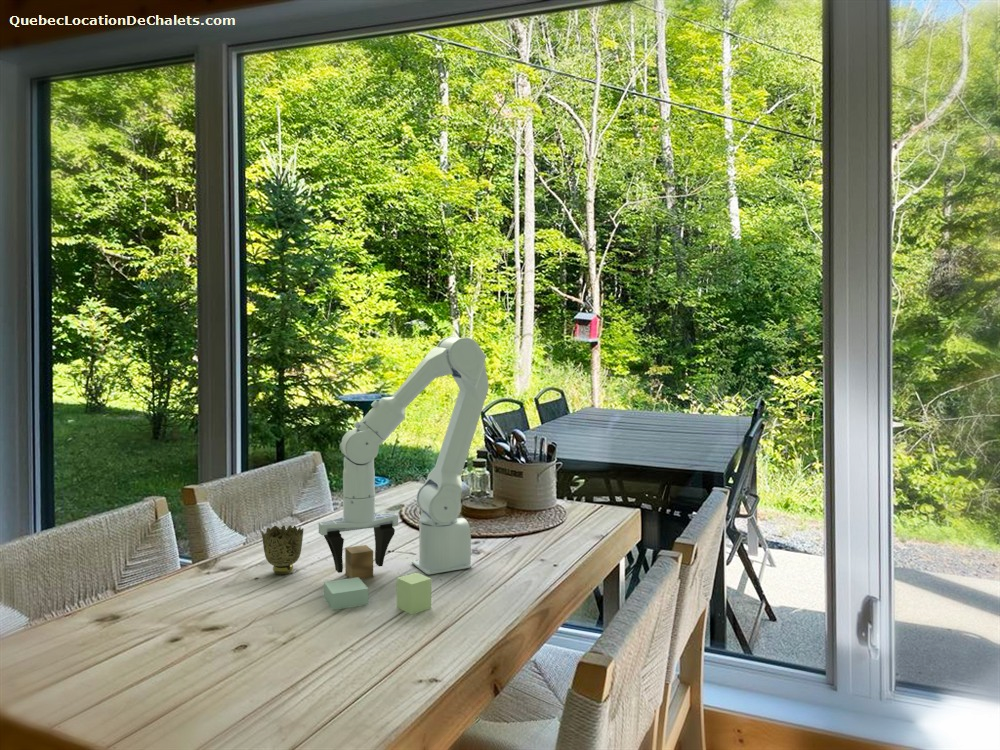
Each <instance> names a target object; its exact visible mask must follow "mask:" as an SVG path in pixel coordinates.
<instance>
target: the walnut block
mask: <svg viewBox="0 0 1000 750" xmlns="http://www.w3.org/2000/svg"><path fill="white" fill-rule="evenodd" d="M344 551H345V552H344V554H345V557H344V559H345V566H344V567H345V569H344V570H345V571H344V573H345V575H346V576H347V577H348V579H349V578H356V577H359V578H360V579H361V580H364V579H365V580H366V579H370V578H374V550H373V549H372V548H370V547H369V546H368V545H367V544H362V545H355V546H349V547H345V548H344Z"/></svg>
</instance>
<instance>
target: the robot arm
mask: <svg viewBox="0 0 1000 750" xmlns="http://www.w3.org/2000/svg"><path fill="white" fill-rule="evenodd" d="M449 375H451V376H452V378H453V379H454V381H455V384H456V385H457V387H458V388H459V391H458V394H457V398H456V401H455V404H454V407H453V408H452V409H453V410H452V413H451V415H450V419H449V422H448V425H447V429H446V432H445V433H444V434H445V435H444V437H443V438H444V439H443V441H442V444H441V446H440V447H441V448H440V450H439V454H438V456H437V460H436V463H435V466H434V467H433V468H432V470H431V471H430V472H429V473H428V475H427V478H426V480H425V482H424V483H423V484H422V485H421V486H420V488H419V489H418V491H417V494H416V504H417V505H418V507H419V509H420V510H421V514H420V516H419V518H418V520H419V522H418V523H419V525H418V526H419V529H418V530H419V537H418V539H419V542H418V543H419V545H418V547H419V552H418V553H419V554H418V557H419V558H418V559H413V560H411V564H412V565H414V566H415V567H417V568H418V569H419V570H420V571H422V572H423V573H424V574H425V575H434V574H440V573H446V572H452V571H457V570H458V571H460V570H465V569H470V567H471V568H473V564H472V563H471V562H472V559H471V557H472V547H471V546H472V534H471V529H470V528H471V527H470V524H469V522H468V520H467V519H466V518H464V517H459V516H460V514H461V511H462V502H461V500H462V499H461V495H462V492H463V482H462V474H463V470H464V468H465V464H466V461H467V457H468V455H469V452H470V448H471V447H472V445H471V444H472V442H473V439H474V436H475V432H476V430H477V425H478V423H479V420H480V417H481V414H482V411H483V407H484V404H485V401H486V398H487V396H488V392H489V389H490V388H489V387H490V386H489V385H490V384H489V378H488V374H487V368H486V354H485V353H484V350H483V349H482V348H481V346H480V345H479V344H478V342H477V341H475V340H474V339H472V338H470V337H457V336H451V335H450V336H447V337H444V338H442V339H441V340H440V341H439V342H438V343H437V346H434V347H432V348H431V349H430V350H429V352H428V353H427V354H426V355H425V356H424V358H422V360H421V361H420V362H419V363H418V365H417V366H416V367H415V368H414V370H413V371H412V372H411V373H410V374H409V376H408V377H407V378H406V379H405V380H404V382H403V383H402V384H401V385H400V387H398V389H397V390H396V391H395V392H394V394H392V396H389V397H388V396H385V397H381V398H380V399H379V400H375V399H374V401H373V402H372V403H371V404H370V406H371V409H370V410H369V411H368V412H367V413H366V414H365V415H364V417H363V418H362V419H361V420H360V421H355V422H354V424H353V427H355V428H353V429H350V430H348V431H346V432H345V434H344V435H343V436H342V438H341V442H340V443H339V449H340V451H341V453H342V455H344V456H343V470H342V497H343V498H342V501H343V503H342V512H343V513H342V515H343V516H342V517H339V518H334V519H330V520H326V521H320V522H318V533H319V535H320V536H323V537H324V539H325V540H326V544H327V545H328V547H329V549H330V552H331V555H332V558H333V562H334V563H333V564H334V567H335V571H336V572H337V573H339V574H341V573H343V570H344V567H343V564H344V563H343V549H344V543H345V542H344V541H345V539H344V537H342V532H350V531H357V530H365V529H373V532H374V543H375V547H374V548H375V549H374V550H375V551H374V553H375V554H374V561H375V564H376V566H378V567H383V565H384V562H385V561H384V560H385V557H386V553H387V550H388V547H389V545H390V543H391V541H392V539H393V537H394V535H395V531H396V530H395V528H394V527H397V526H399V515H398V514H396V513H395V512H394V513H376V512H375V511H376V495H375V494H376V487H375V485H376V483H375V482H376V480H375V479H376V477H375V476H376V475H375V473H376V471H375V458H377V456H378V454H379V451H380V445H382V444H383V443H385V441H386V440H387V438H389V436H390V435H391V434H392V433H393V432H394V431H395V430H396V429H397V428H398V427H399V426H400V424H401V423H402V422H403V421H404V420H405V419H406V408H407V407H408V406H409V405H410V404H411V403H412V402H413V401H414V400H415V399H416V398H417V397H418V396H419V395H420V394H421V393H422V392H423V391H424V390H425V389H427V387H428V386H429V385H430V384H431V383H432V382H433V381H434V380H435V379H437V378H440V377H445V376H449Z"/></svg>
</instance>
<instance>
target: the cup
mask: <svg viewBox="0 0 1000 750" xmlns="http://www.w3.org/2000/svg"><path fill="white" fill-rule="evenodd" d="M261 537H262V538H261V539H262V545H263V552H264V557H265V559H266V561H267V562H268V564H270V565H271V566H273V567H272V570H273V573H274V574H276V575H288V574H290V573H292V572H293V570H294V564H295V563H296V562H297V561H298V560H299V558H300V556H301V553H302V546H303V537H304V527H301V526H299V528H297V526H296V525H294V526H292V525H291V524H290V525H288V526H287V528H286V525H282V526H281V528H280V527H279V526H277V525H273V526H271V528H270V527H267V528H266V532H264V531H261Z"/></svg>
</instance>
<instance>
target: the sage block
mask: <svg viewBox="0 0 1000 750" xmlns="http://www.w3.org/2000/svg"><path fill="white" fill-rule="evenodd" d="M396 608H397V609H399V610H402V611H403V612H404V613H405V612H406V613H407V614H410V615H415V614H418V613H420V612H423V611H427V610H429V609H432V578H430V576H426V575H424V574H421V573H418V572H414V573H411V574H410V573H409V574H406V575H402V576H400V577H396Z"/></svg>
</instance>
